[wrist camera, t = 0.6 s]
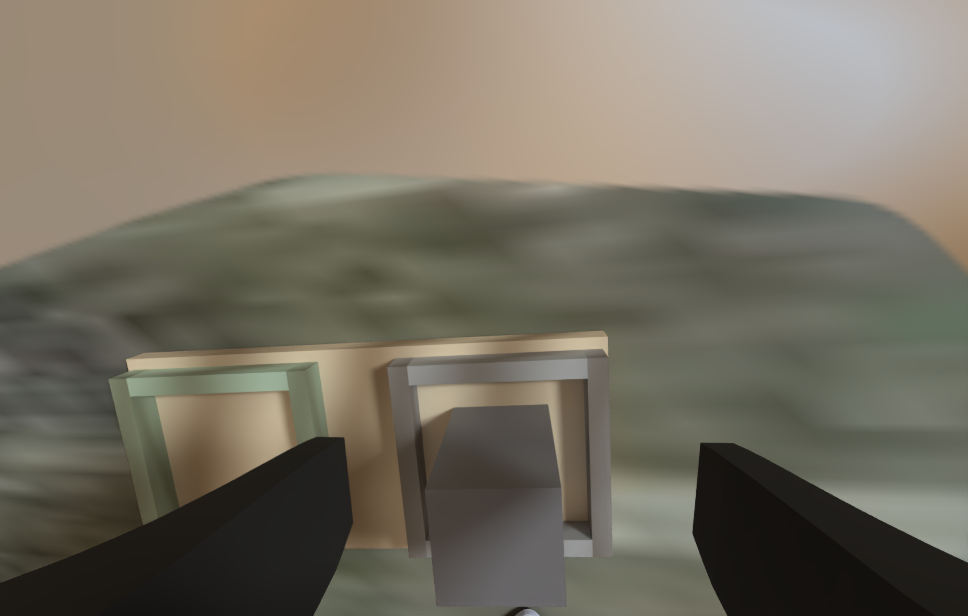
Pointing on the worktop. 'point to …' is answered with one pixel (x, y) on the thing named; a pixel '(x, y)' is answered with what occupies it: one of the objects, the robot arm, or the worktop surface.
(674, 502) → the worktop surface
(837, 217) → the worktop surface
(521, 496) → the plug
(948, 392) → the worktop surface
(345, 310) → the worktop surface
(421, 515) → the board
